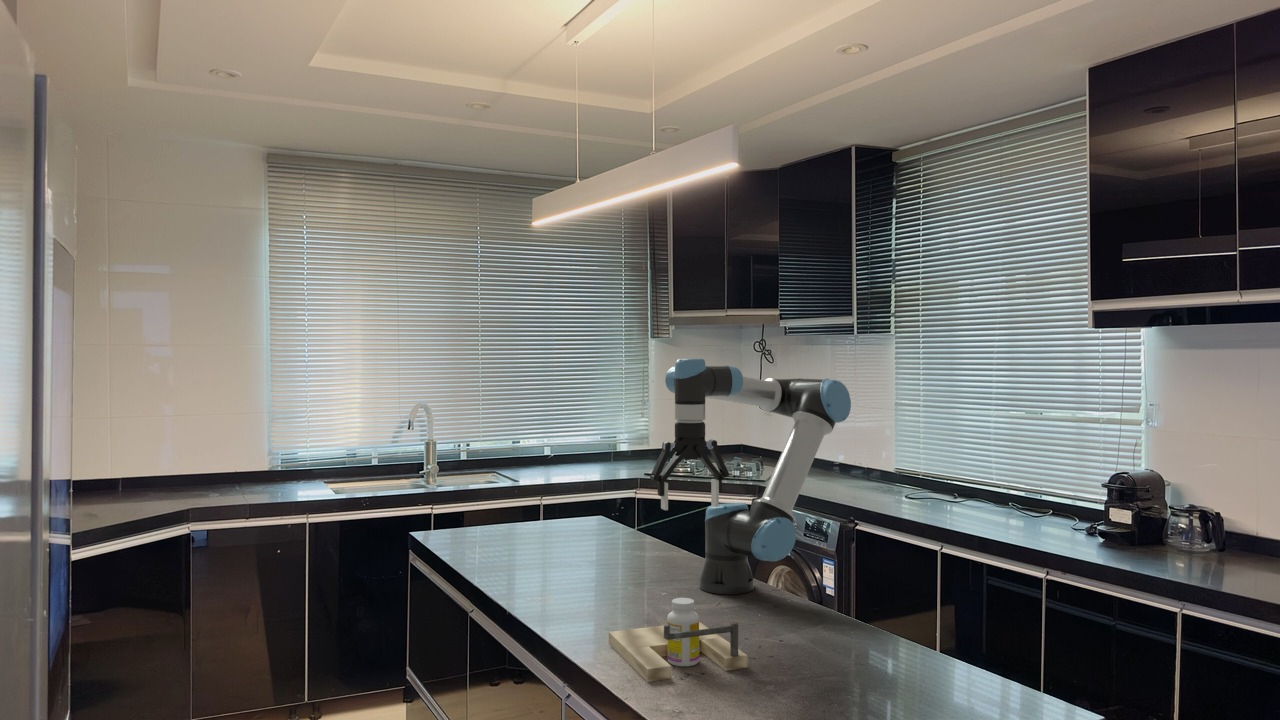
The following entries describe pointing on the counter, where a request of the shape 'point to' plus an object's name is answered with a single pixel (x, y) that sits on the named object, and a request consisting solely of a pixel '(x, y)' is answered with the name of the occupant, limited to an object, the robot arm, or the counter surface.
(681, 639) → the supplement bottle
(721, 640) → the wooden u-shaped stand
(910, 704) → the counter surface
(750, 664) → the counter surface
